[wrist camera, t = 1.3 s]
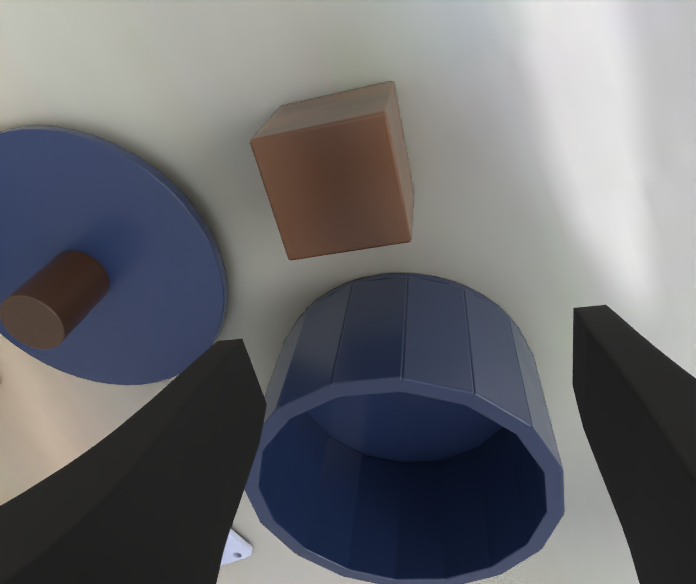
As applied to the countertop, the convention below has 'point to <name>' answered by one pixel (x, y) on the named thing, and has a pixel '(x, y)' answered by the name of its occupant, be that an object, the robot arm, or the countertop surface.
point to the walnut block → (337, 172)
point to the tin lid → (102, 260)
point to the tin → (407, 436)
